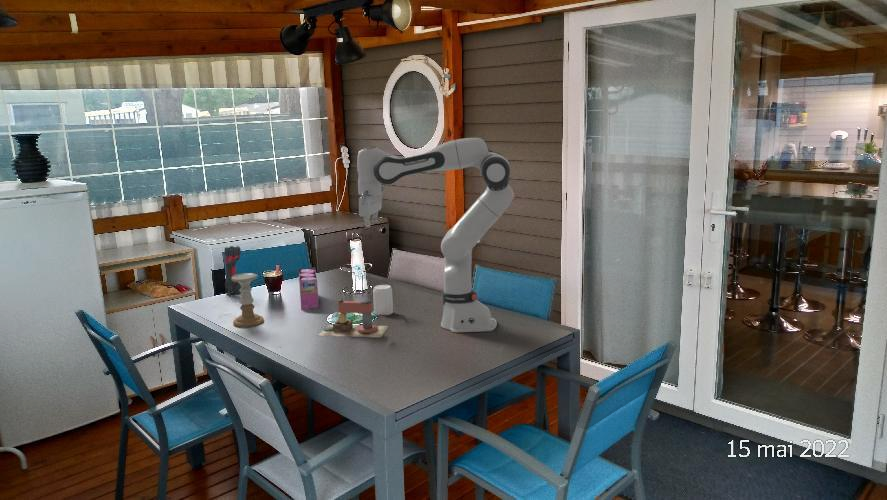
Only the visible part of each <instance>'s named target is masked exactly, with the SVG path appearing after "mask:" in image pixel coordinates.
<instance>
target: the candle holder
mask: <svg viewBox="0 0 887 500" xmlns="http://www.w3.org/2000/svg"><path fill="white" fill-rule="evenodd" d="M256 279H258V274H257V273H252V272H251V273H250V272H249V273H248V272H246V273H245V272H244V273H236V275H234V276H232V277H231V280H232V281H235V282H238V283H239V284H240V285H241V288H240V290H239V291H240V292H241V293H240V299H239V303H240V304H241V305H240V306H239V309H240V310H241V315H239V316H238V317H236V318H235V319H234V320H233V321H232V324H233V326H234V327H237V328H251V327H256V326H259V325H261V324H262V323H264V321H265V319H264V316H262V315H259V314H258V313H254V308H255V305H254V304H253V303H254V298H253V295H252V290H253V289H252V287H251V286H250V284H251V282H252V281H254V280H256Z"/></svg>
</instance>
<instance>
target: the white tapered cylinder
mask: <svg viewBox="0 0 887 500" xmlns="http://www.w3.org/2000/svg"><path fill="white" fill-rule="evenodd" d="M372 296H373V297H372V298H373V313H374V315H376V316H389V315H390V316H391V315H392V314H393V313H394V303H393V301H394V300H393V288H392V286H391V285H389V284H379V285H375V286H374V287H373V290H372Z"/></svg>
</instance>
